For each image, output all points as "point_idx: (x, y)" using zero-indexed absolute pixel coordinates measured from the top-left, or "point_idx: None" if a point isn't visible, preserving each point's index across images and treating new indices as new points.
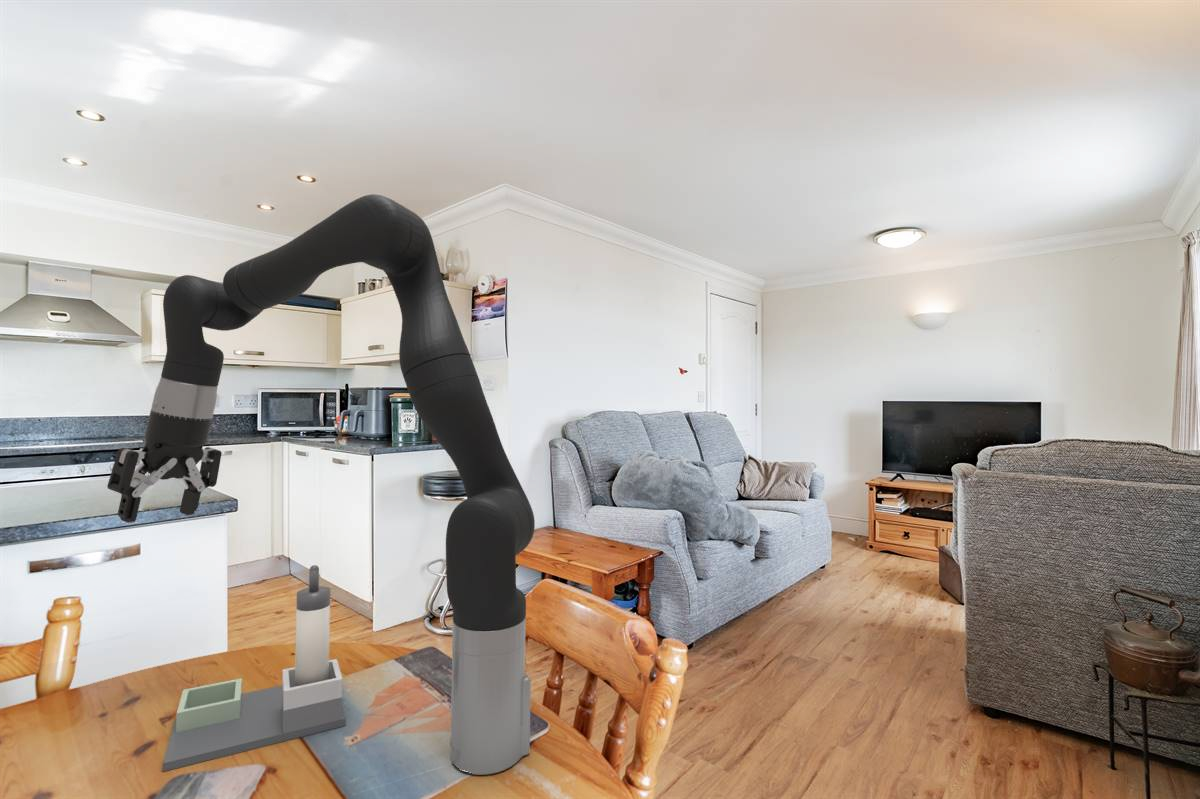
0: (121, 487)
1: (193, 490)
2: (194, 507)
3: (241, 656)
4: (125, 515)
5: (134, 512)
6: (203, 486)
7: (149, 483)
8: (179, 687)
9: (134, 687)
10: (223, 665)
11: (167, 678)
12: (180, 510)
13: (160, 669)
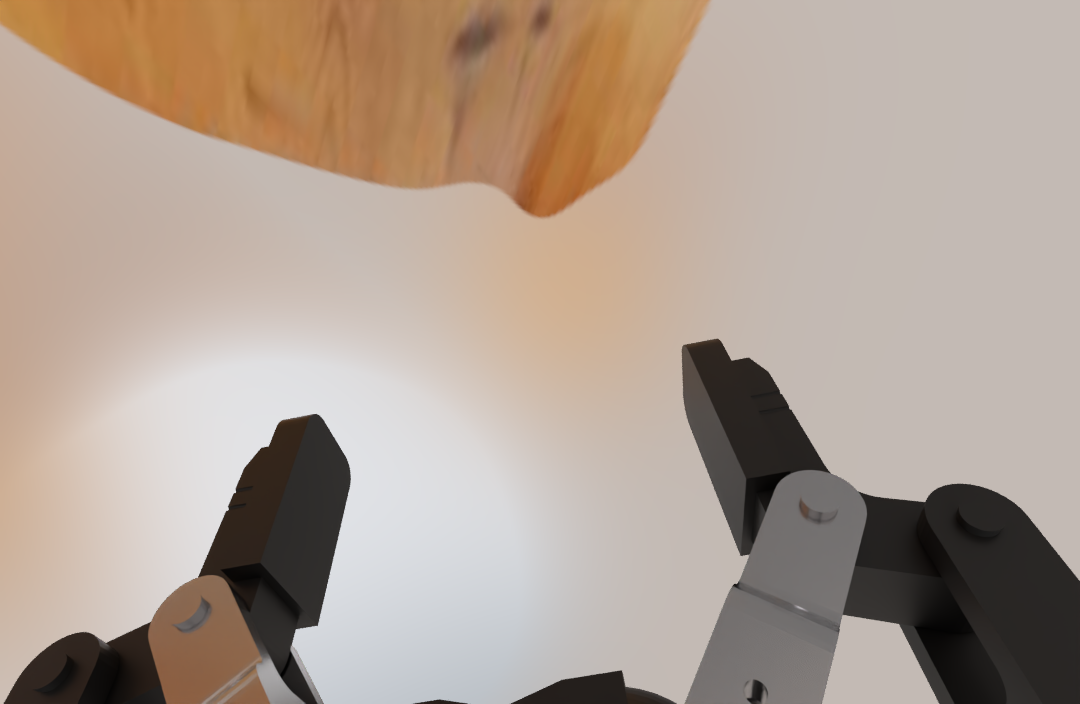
0: (1033, 538)
1: (263, 592)
2: (272, 455)
3: (172, 71)
4: (761, 374)
5: (726, 382)
6: (164, 629)
7: (774, 601)
8: (370, 10)
9: (444, 116)
10: (234, 52)
11: (375, 101)
12: (347, 476)
13: (371, 169)
